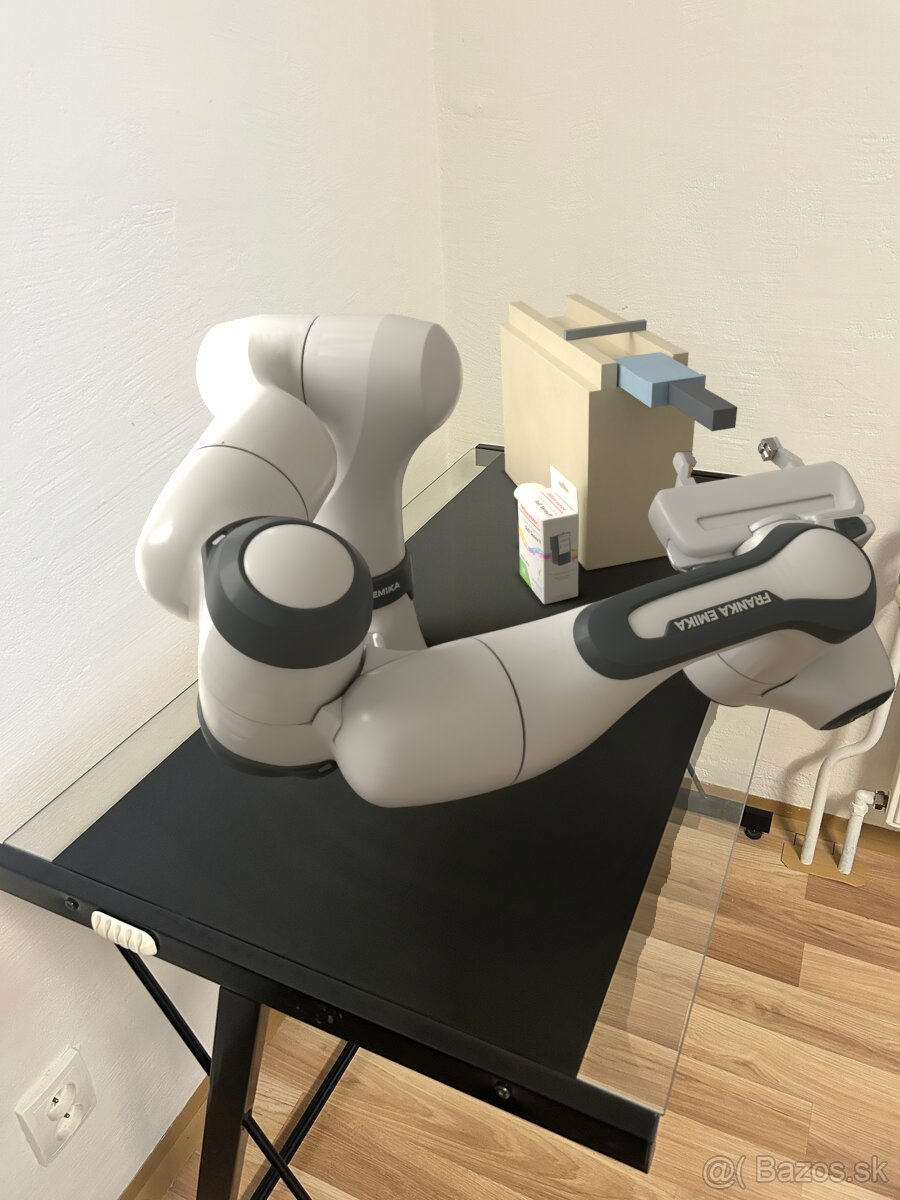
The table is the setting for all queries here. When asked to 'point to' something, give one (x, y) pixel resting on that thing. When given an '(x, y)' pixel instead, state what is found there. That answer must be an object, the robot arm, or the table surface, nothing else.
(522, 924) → the table surface
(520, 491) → the milkshake
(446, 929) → the table surface
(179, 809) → the table surface
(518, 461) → the detergent unit
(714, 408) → the tray
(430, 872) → the table surface
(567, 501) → the ink box
